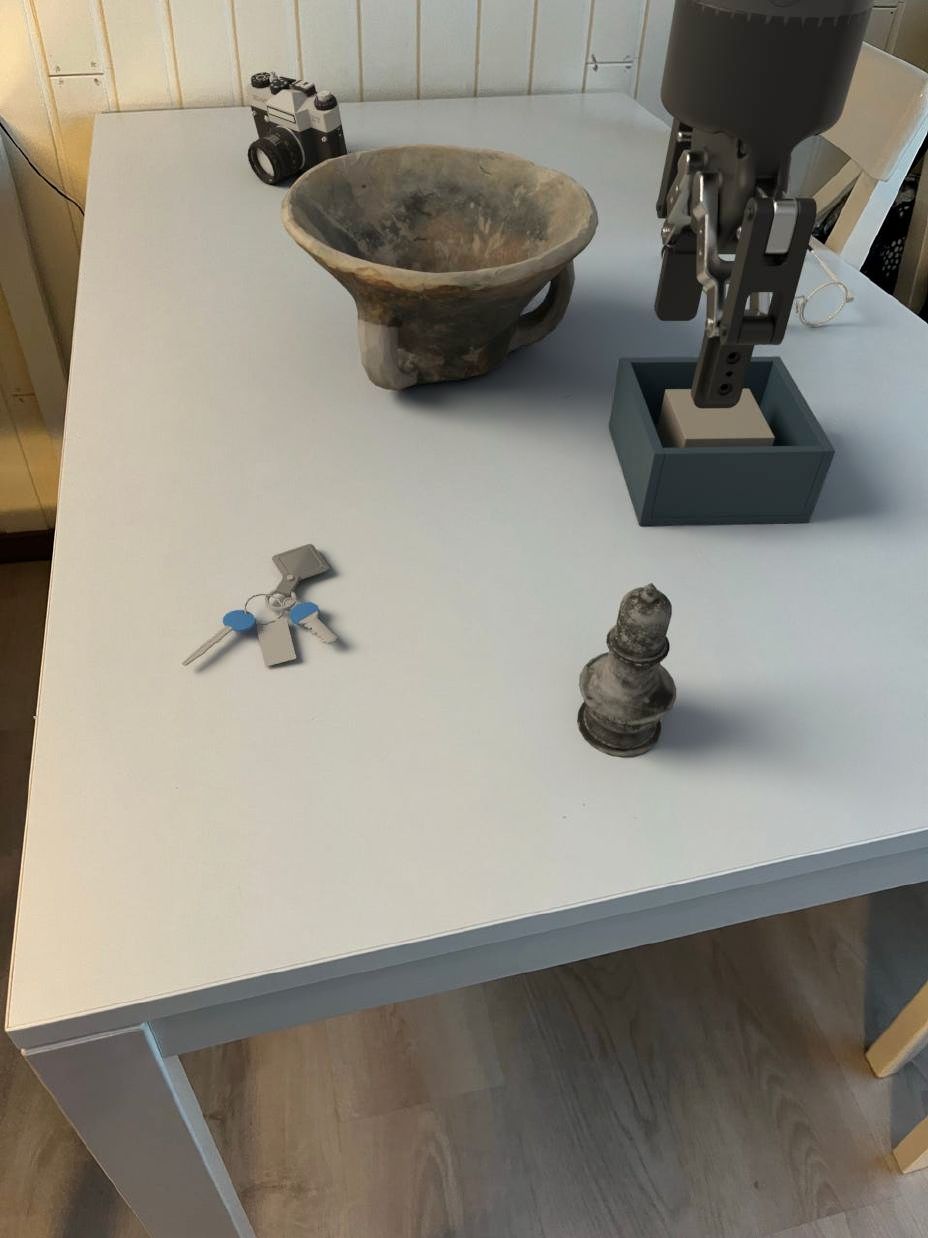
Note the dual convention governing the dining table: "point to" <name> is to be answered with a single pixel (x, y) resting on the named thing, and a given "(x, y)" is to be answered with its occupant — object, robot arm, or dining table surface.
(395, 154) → the bowl
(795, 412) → the crate
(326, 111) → the camera
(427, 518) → the dining table surface
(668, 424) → the block
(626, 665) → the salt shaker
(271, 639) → the key chain
